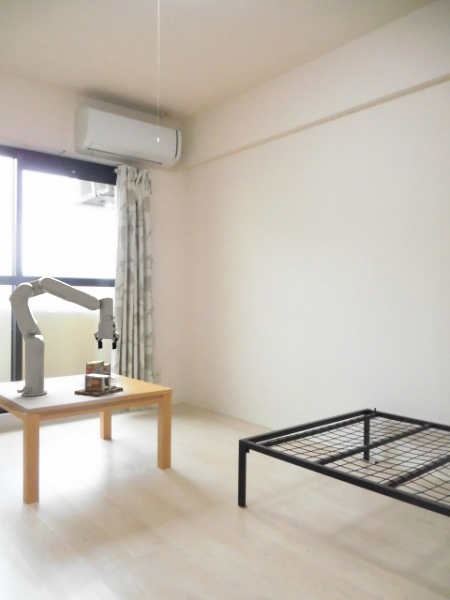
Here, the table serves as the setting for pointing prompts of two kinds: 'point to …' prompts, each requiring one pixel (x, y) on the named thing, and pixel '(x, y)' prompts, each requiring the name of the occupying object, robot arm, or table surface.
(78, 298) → the robot arm
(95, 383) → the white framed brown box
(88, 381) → the tunnel
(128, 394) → the table surface
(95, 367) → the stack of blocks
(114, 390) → the track board
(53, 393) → the table surface
